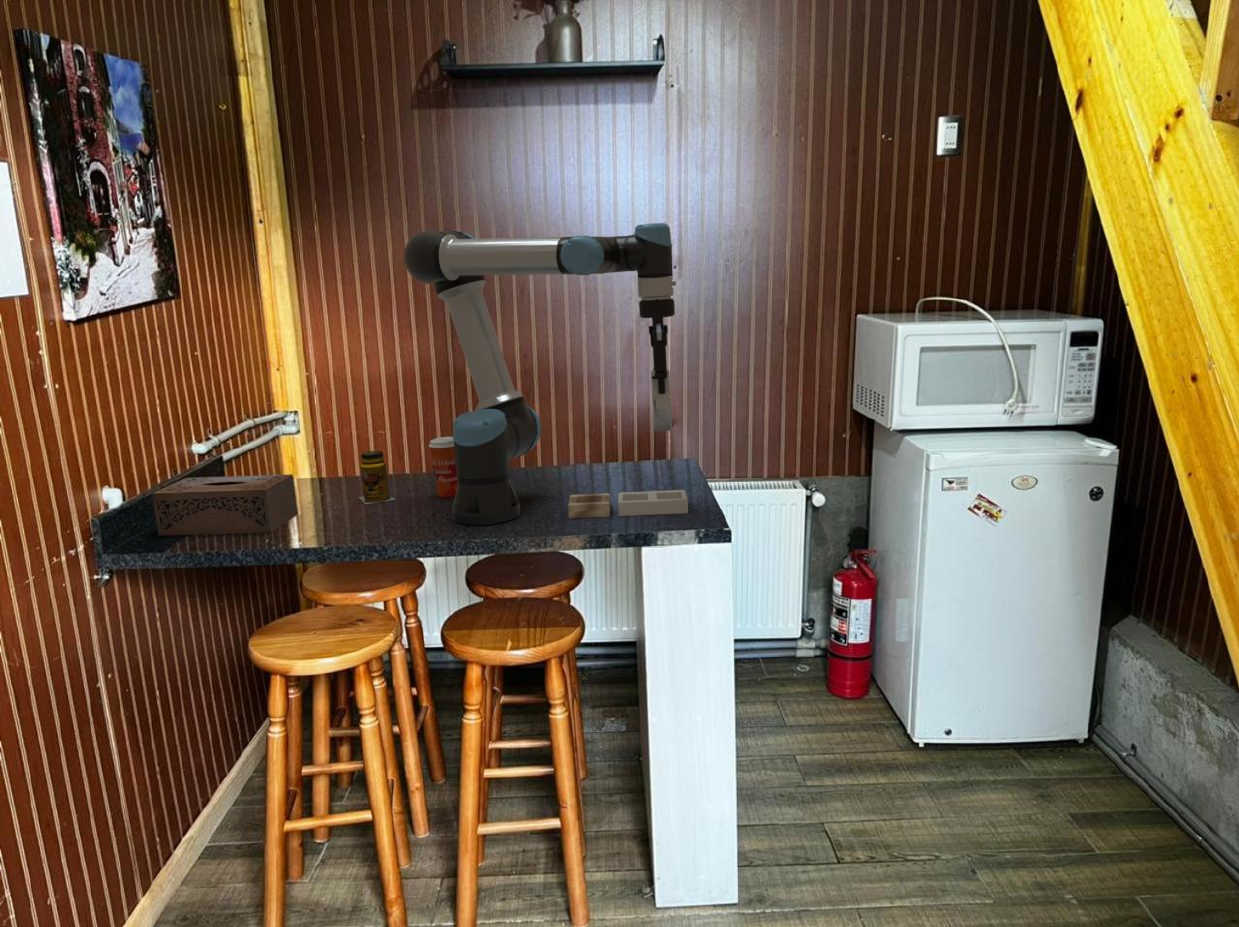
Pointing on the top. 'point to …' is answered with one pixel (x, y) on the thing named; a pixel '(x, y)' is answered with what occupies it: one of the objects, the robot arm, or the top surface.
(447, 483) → the paper cup
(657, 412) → the grey peg
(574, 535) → the top surface
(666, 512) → the rack
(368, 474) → the condiment
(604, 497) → the socket block
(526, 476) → the top surface
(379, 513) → the top surface
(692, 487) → the top surface
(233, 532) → the tissue box cover
